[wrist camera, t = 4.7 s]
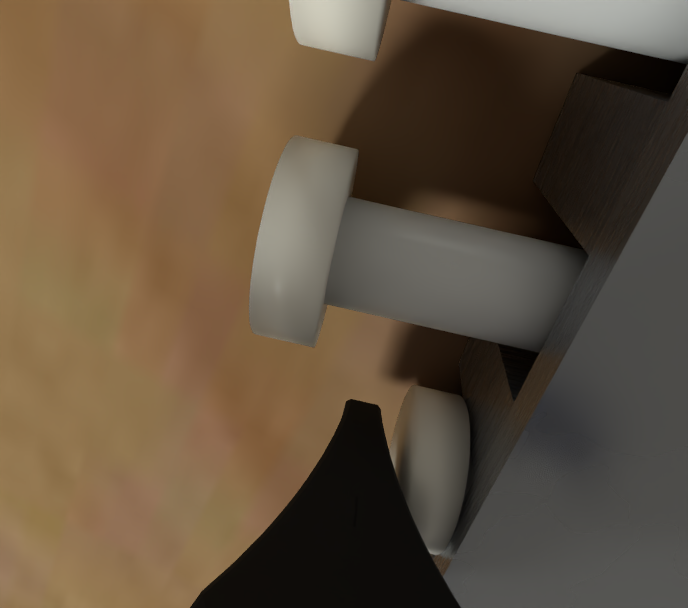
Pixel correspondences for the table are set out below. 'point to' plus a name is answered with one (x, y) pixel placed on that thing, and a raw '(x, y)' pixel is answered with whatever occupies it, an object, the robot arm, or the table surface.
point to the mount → (591, 382)
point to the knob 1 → (433, 461)
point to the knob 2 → (506, 22)
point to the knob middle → (394, 261)
